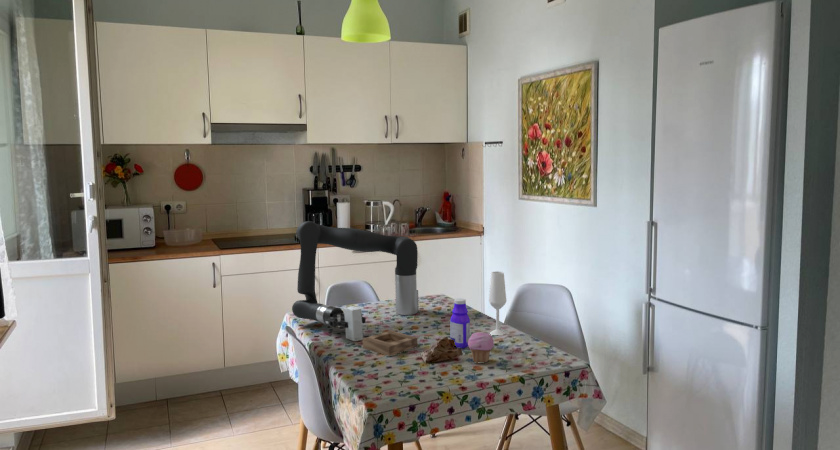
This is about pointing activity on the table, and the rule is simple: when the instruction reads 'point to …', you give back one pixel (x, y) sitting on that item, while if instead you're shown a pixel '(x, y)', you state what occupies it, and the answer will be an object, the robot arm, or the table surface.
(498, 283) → the champagne flute
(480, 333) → the cupcake
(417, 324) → the table surface
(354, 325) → the skincare box
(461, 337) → the bottle
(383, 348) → the walnut socket block
